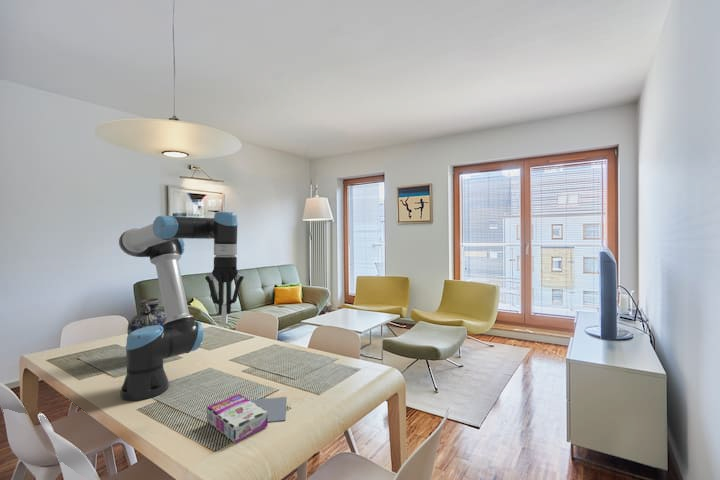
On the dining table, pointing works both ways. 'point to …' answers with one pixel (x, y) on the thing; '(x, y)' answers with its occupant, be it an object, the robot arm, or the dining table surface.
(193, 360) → the dining table surface
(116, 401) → the dining table surface
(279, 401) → the mat
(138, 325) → the decorative vase
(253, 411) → the candy bar box
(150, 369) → the robot arm
